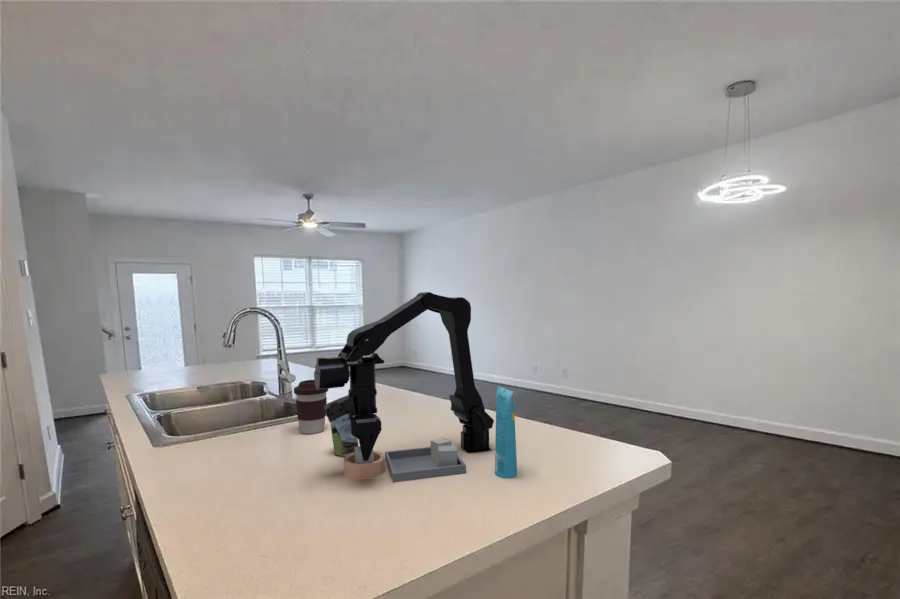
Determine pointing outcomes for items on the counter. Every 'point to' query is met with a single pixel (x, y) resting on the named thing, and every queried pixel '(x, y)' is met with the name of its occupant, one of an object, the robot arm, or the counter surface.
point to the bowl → (364, 467)
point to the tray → (418, 465)
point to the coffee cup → (310, 407)
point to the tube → (505, 435)
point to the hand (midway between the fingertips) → (364, 453)
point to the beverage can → (343, 436)
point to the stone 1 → (360, 459)
